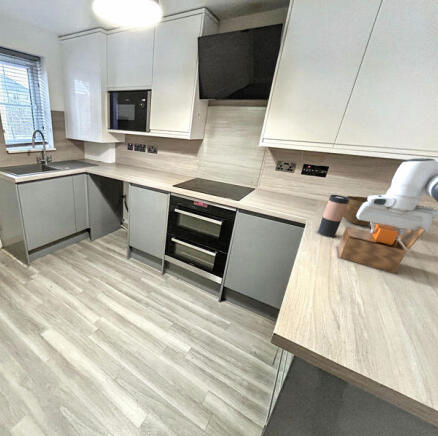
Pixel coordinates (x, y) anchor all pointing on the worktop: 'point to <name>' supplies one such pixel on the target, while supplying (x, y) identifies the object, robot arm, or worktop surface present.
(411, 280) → the worktop surface
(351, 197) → the bowl
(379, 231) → the orange block
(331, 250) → the worktop surface
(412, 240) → the carton flap
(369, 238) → the carton
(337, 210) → the travel mug
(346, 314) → the worktop surface
